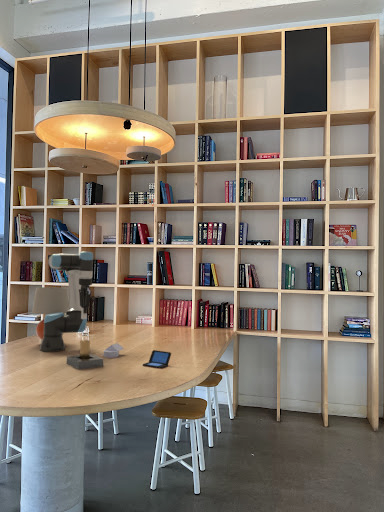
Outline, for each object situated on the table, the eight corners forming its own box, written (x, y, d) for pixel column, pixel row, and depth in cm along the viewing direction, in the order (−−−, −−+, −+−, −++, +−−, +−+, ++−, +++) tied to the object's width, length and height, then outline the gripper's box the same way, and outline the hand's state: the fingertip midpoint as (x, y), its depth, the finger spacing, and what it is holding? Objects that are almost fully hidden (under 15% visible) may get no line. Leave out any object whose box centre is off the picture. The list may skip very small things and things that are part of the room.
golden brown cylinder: (78, 362, 227) (78, 340, 227) (86, 361, 230) (87, 339, 230) (82, 364, 223) (82, 341, 223) (91, 363, 226) (91, 340, 227)
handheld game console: (141, 366, 227) (141, 352, 228) (152, 363, 237) (152, 349, 237) (161, 369, 222) (161, 355, 222) (171, 365, 231) (171, 352, 232)
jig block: (66, 363, 228) (66, 356, 228) (90, 361, 237) (90, 353, 237) (78, 369, 215) (78, 361, 216) (103, 366, 224) (103, 358, 224)
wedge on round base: (110, 353, 261) (100, 356, 249) (111, 342, 262) (101, 345, 249) (124, 354, 259) (114, 358, 246) (124, 343, 259) (114, 346, 247)
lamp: (73, 341, 300) (75, 287, 301) (59, 347, 275) (61, 288, 277) (40, 340, 302) (43, 286, 304) (23, 346, 277) (26, 287, 279)
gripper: (75, 277, 245) (73, 317, 245) (84, 278, 235) (82, 320, 235) (87, 277, 250) (85, 317, 250) (96, 278, 240) (94, 320, 239)
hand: (83, 318), depth 242 cm, fingers closed
